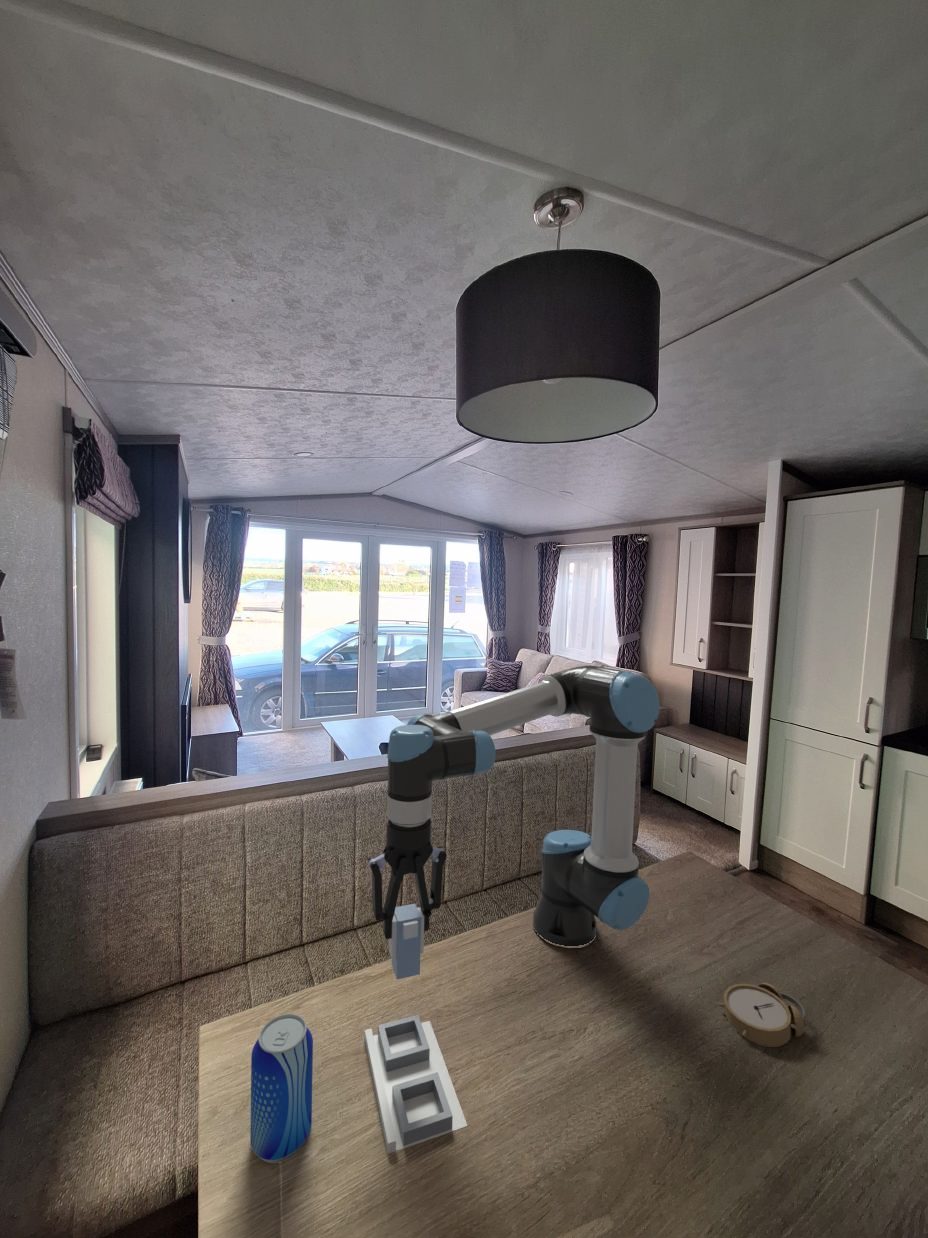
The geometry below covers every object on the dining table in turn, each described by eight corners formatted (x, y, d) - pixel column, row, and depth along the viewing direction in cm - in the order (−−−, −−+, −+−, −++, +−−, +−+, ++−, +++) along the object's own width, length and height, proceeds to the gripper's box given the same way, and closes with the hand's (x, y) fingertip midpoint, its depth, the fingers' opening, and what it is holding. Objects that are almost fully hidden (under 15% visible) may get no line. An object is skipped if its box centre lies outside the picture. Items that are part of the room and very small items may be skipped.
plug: (413, 958, 91) (415, 903, 91) (421, 978, 87) (422, 920, 86) (391, 963, 90) (392, 907, 89) (397, 983, 85) (399, 925, 85)
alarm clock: (709, 989, 103) (775, 969, 105) (712, 1012, 103) (777, 992, 105) (749, 1037, 92) (822, 1013, 94) (752, 1062, 92) (825, 1038, 94)
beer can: (239, 1140, 74) (240, 1033, 74) (291, 1098, 81) (293, 999, 80) (269, 1184, 69) (270, 1069, 68) (322, 1135, 75) (324, 1030, 75)
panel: (429, 1026, 95) (429, 1010, 95) (467, 1132, 76) (467, 1113, 76) (364, 1043, 91) (364, 1027, 91) (387, 1160, 72) (388, 1140, 72)
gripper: (449, 803, 94) (446, 928, 95) (355, 815, 88) (352, 948, 89) (463, 820, 87) (459, 955, 88) (362, 834, 81) (359, 978, 82)
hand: (405, 951), depth 88 cm, fingers closed on plug, 4 cm apart
